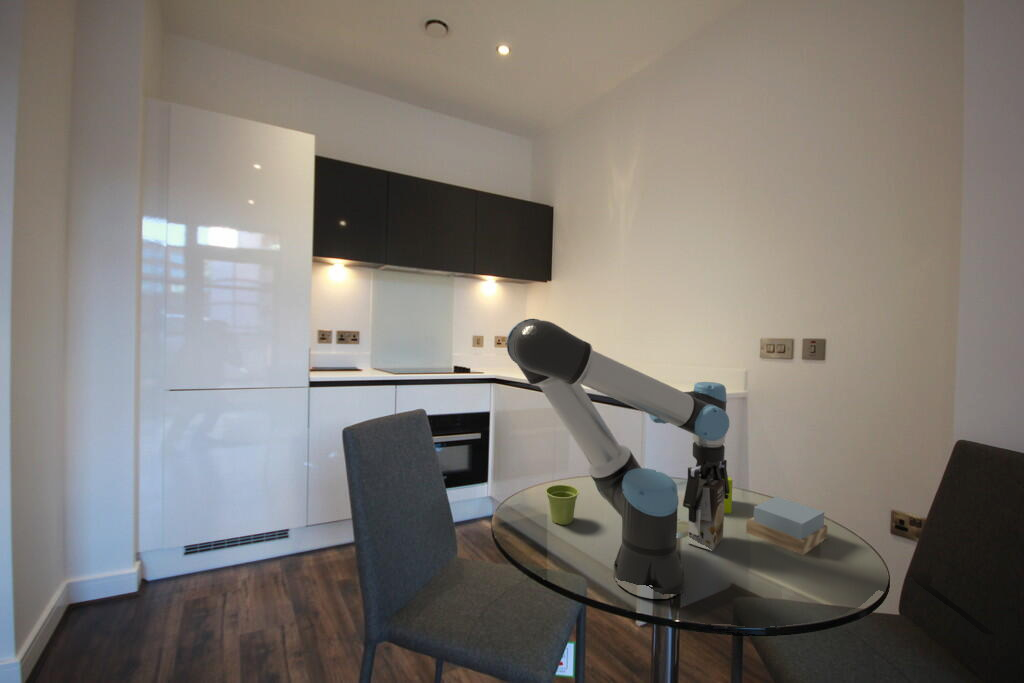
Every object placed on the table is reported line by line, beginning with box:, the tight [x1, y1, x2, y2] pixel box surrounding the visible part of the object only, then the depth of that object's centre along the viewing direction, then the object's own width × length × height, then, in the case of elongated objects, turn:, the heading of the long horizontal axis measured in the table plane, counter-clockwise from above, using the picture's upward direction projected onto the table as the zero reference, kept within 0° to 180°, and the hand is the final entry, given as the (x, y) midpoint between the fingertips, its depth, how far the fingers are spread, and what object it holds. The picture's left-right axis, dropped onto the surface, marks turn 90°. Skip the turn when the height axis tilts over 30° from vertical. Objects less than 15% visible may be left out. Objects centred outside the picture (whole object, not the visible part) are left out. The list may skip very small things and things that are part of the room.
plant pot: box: [545, 484, 580, 526], centre depth 133 cm, size 9×9×9 cm
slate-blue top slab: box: [753, 496, 825, 540], centre depth 123 cm, size 12×12×4 cm
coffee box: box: [687, 478, 725, 551], centre depth 120 cm, size 9×6×16 cm
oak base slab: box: [745, 516, 828, 556], centre depth 124 cm, size 14×14×4 cm
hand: (706, 527), depth 121 cm, fingers closed on coffee box, 10 cm apart
